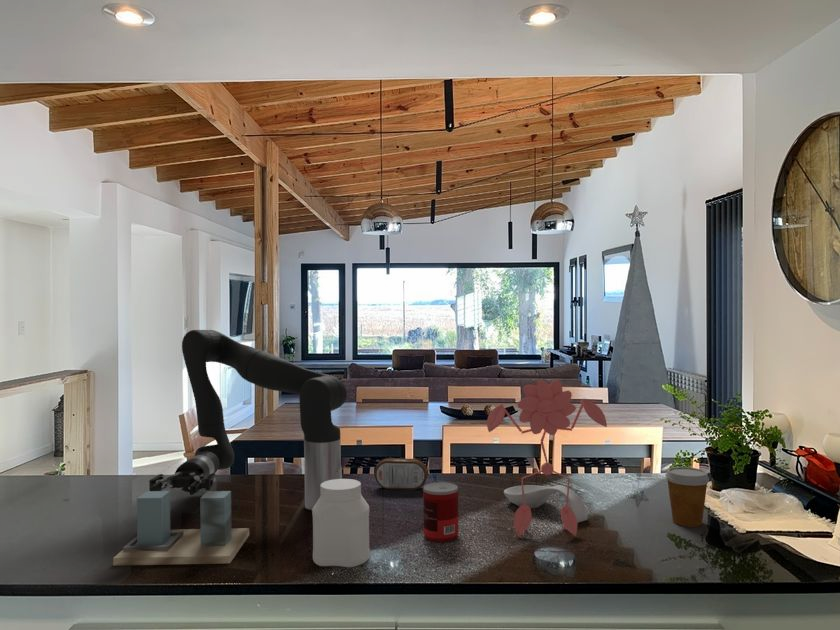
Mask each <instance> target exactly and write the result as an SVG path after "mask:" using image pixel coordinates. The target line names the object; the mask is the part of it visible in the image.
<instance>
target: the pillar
mask: <svg viewBox="0 0 840 630" xmlns="http://www.w3.org/2000/svg"><path fill="white" fill-rule="evenodd" d="M136 527H137V528H136V531H137V532H136V534H137V535H136V536H137V546H151V545H163V544H164V543H165V542H166V541H167V540H168V539H169V538H170V537H171V536H170V530H171V491H165V490H164V491H148V490H146V491H145V492H144V493H142V494H141V495H140V496H138V497H137V498H136Z"/></svg>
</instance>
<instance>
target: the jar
mask: <svg viewBox="0 0 840 630" xmlns="http://www.w3.org/2000/svg"><path fill="white" fill-rule="evenodd" d="M320 491H321V492H320V494H321V495H320V498H319V499H318V501H317V502H316V504H315V505H314V507H313V509H312V510H311V513H312V514H311V515H312V560H313V562H314V564H316V565H317V566H319V567H344V568H354V567H355V568H356V567H358V566H361V565H363V564H364V563H366V562H367V561H368V560H369V559H370V557H371V553H370V552H371V550H370V505H369V503H368V502H367V501H366V499H365V498H364V497H363V495H362V483H361V481H359V480H357V479H352V478H342V479H334V480H329V481H325V482H323V483H322V484H321V485H320Z"/></svg>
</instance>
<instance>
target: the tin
mask: <svg viewBox="0 0 840 630" xmlns="http://www.w3.org/2000/svg"><path fill="white" fill-rule="evenodd" d="M428 476H429V469H428V468H427V466H426V464H425V463H424V462H423V461H422V460H420V459H417V458H399V457H397V458H396V457H387V458H383V459H381V460H380V461H379V462H378V463H377V465H376V466H375V469H374V478H375V481H376V483H377V485H379V486H380V487H381V488H383V489H387V490H409V491H410V490H413V491H414V490H415V491H416V490H419V489H420V488H422V487H424V486H425V485H426V482H427V480H428Z"/></svg>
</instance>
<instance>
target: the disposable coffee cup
mask: <svg viewBox="0 0 840 630" xmlns="http://www.w3.org/2000/svg"><path fill="white" fill-rule="evenodd" d="M664 475H665V478H666V480H667V486H668V493H669V500H670V508H671V516H672V522H673V523H674V524H676V525H678V526H682V527H686V528H687V527H689V528H695V527H696V528H697V527H700V526H702V525H703V517H704V511H705V505H706V503H705V502H706V495H707V488H708V483H709V481H710V478H709V475H708V472H707V471H705V470H703V469H701V468H700V469H699V468H695V467H690V466H673V467H669V468H668V469H667V470H666V473H665V474H664Z"/></svg>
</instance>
